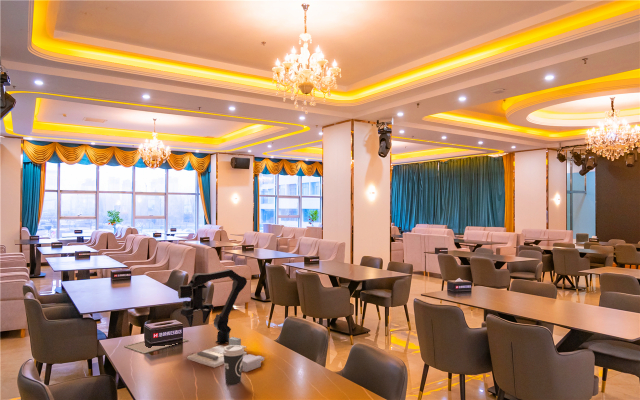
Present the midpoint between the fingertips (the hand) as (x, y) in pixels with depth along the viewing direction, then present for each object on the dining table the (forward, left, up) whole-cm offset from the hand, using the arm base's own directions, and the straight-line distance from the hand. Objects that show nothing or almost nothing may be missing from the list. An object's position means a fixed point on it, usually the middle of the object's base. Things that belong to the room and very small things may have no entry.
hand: (197, 324), depth 238 cm
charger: (+3, +45, -12) cm, 47 cm away
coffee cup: (+23, +52, -12) cm, 58 cm away
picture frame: (+10, -22, -13) cm, 27 cm away
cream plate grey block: (-7, +22, -10) cm, 25 cm away
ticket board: (+5, +22, -12) cm, 25 cm away
